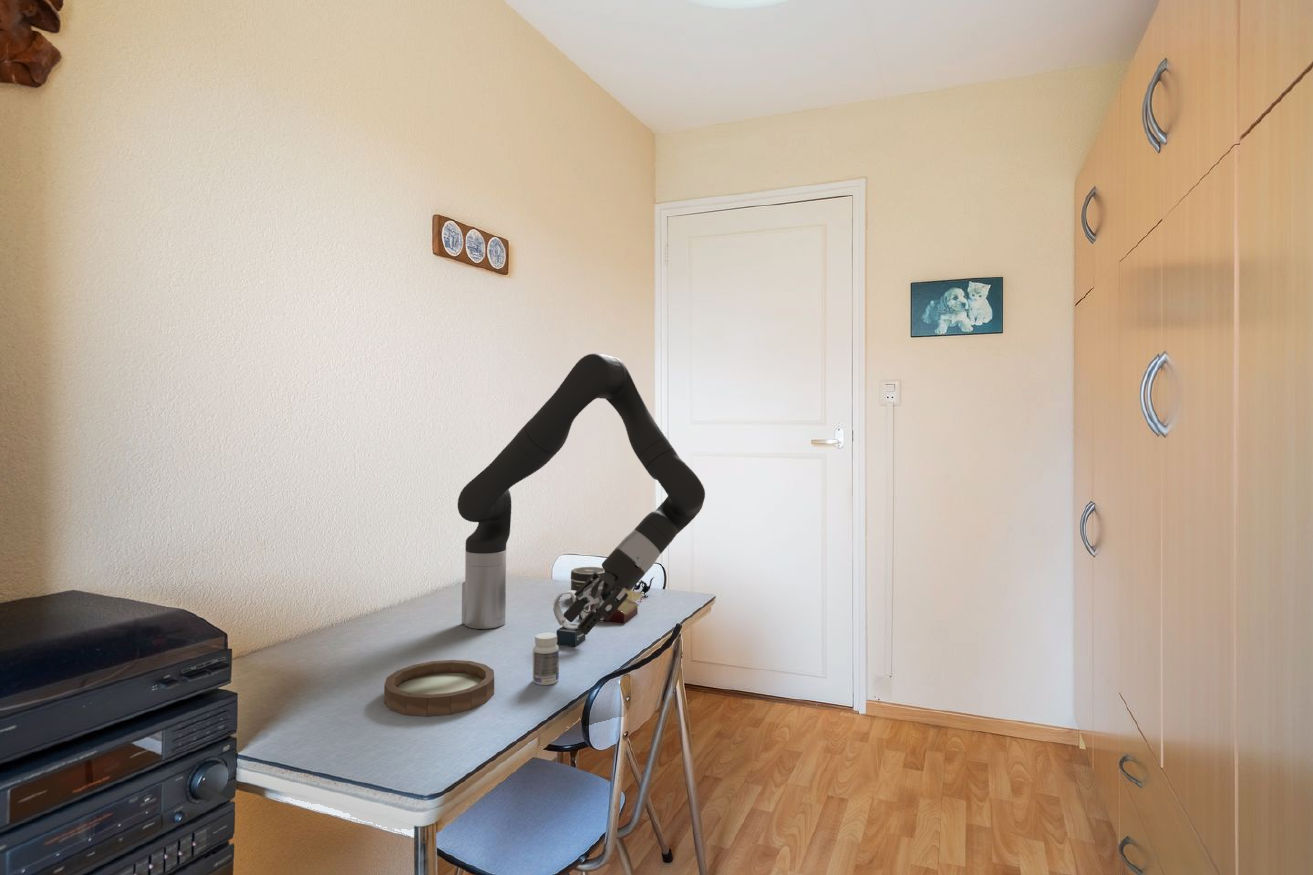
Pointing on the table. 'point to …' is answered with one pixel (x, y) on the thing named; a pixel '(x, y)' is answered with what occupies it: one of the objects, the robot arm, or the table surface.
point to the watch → (569, 632)
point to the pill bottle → (545, 659)
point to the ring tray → (439, 687)
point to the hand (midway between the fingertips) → (573, 625)
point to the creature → (645, 588)
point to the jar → (583, 576)
